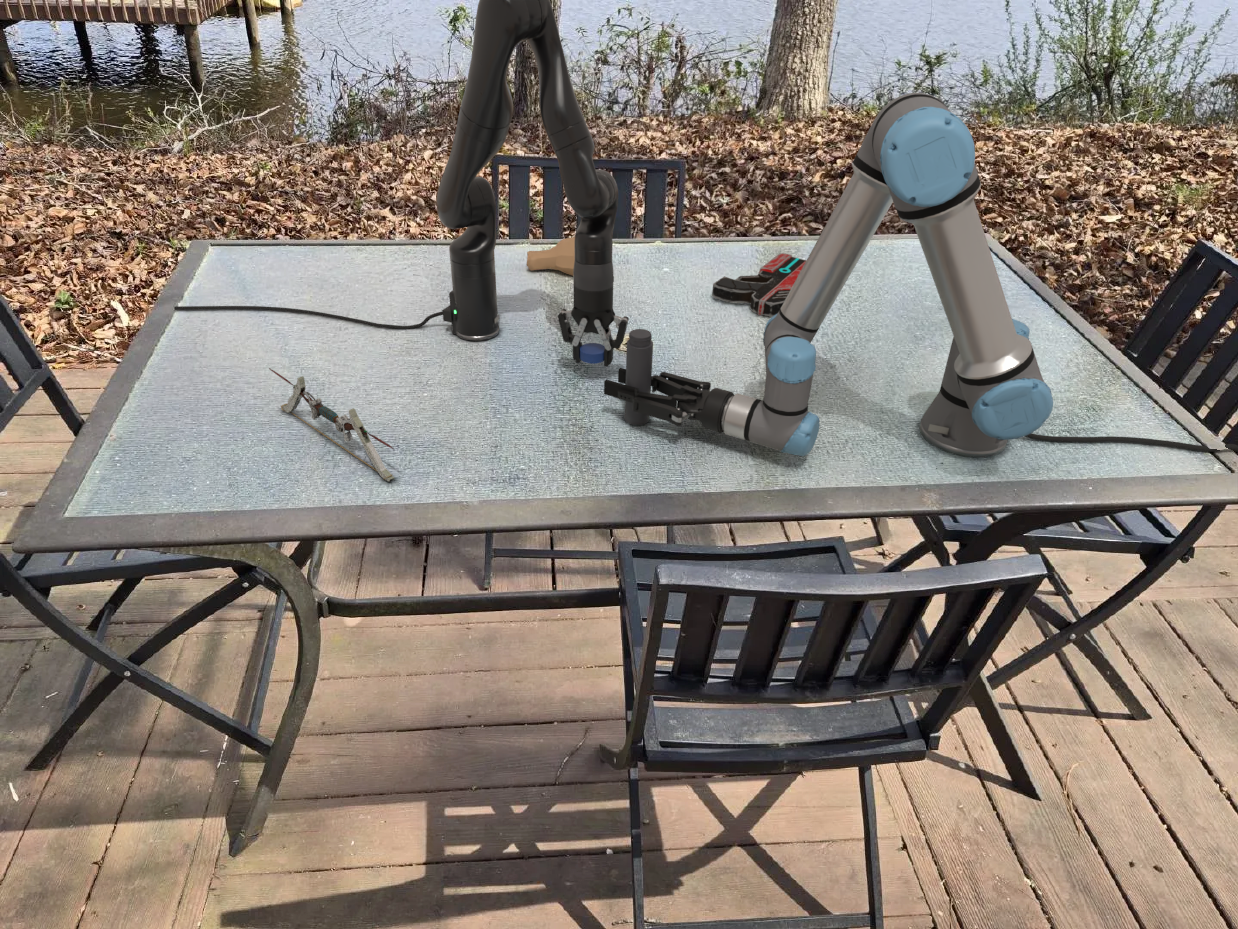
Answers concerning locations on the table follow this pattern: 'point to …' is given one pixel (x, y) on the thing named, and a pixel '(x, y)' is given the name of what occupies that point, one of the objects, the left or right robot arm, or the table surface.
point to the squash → (554, 257)
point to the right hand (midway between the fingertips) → (612, 380)
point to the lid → (592, 353)
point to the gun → (762, 285)
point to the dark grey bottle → (638, 370)
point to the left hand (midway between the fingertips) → (593, 362)
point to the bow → (337, 424)
